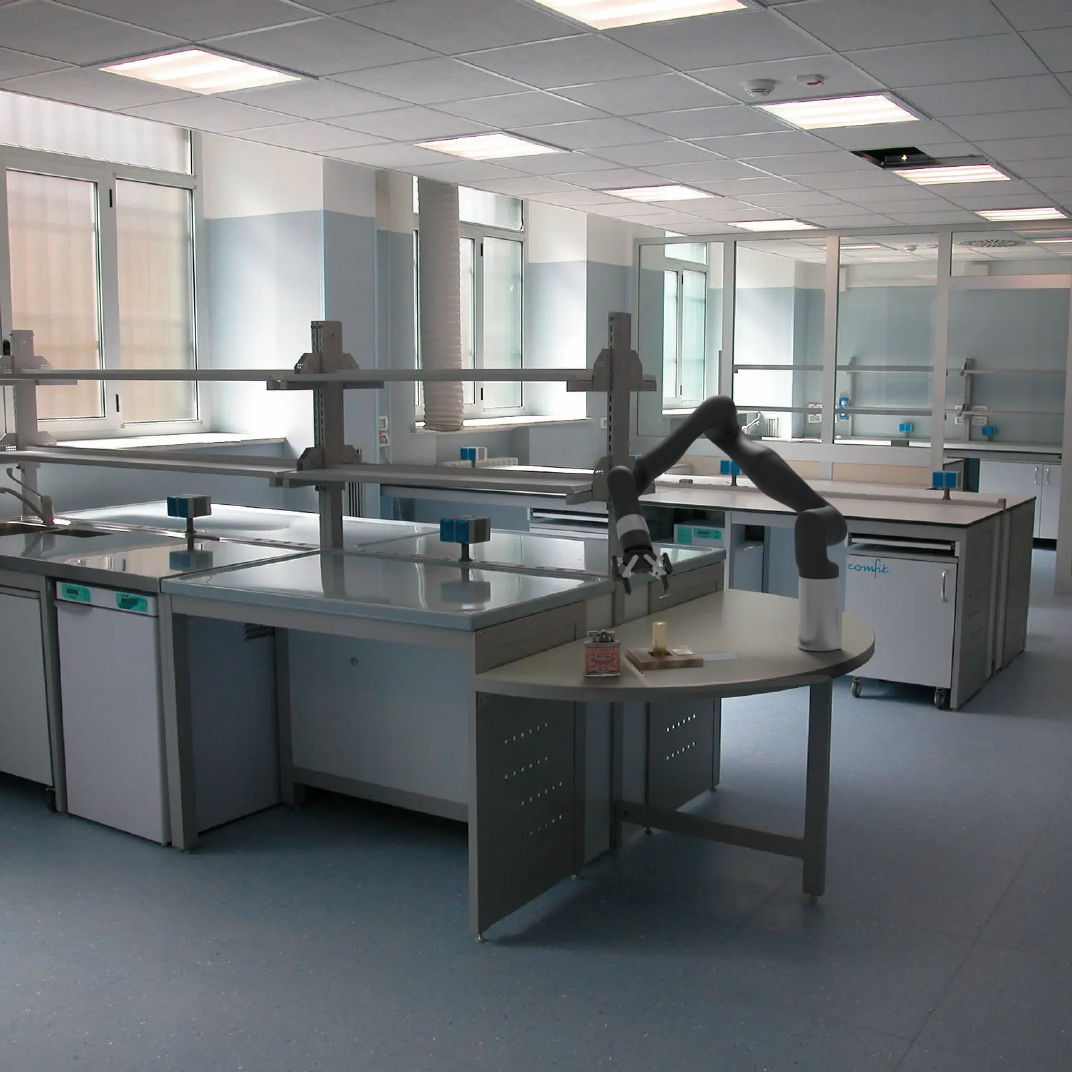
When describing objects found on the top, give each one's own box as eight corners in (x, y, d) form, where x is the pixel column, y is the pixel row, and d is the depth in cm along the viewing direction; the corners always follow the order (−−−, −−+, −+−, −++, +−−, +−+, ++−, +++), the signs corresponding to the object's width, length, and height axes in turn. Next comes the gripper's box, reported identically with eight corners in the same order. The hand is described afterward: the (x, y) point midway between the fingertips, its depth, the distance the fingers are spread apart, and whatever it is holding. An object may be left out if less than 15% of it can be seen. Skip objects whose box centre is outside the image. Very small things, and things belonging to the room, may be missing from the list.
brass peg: (665, 664, 254) (664, 621, 253) (668, 668, 251) (668, 624, 250) (651, 665, 254) (650, 622, 253) (654, 669, 251) (654, 625, 249)
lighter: (620, 672, 249) (619, 628, 247) (621, 676, 245) (621, 631, 244) (583, 673, 248) (583, 629, 247) (585, 677, 245) (584, 632, 244)
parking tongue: (730, 658, 258) (730, 652, 258) (739, 665, 252) (739, 658, 252) (697, 661, 257) (697, 654, 257) (704, 667, 251) (704, 660, 251)
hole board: (686, 657, 260) (686, 644, 260) (703, 671, 247) (703, 657, 247) (627, 661, 258) (627, 648, 257) (641, 675, 245) (641, 661, 245)
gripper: (659, 545, 275) (673, 599, 265) (603, 548, 273) (614, 603, 263) (665, 526, 269) (679, 581, 259) (607, 529, 267) (619, 585, 257)
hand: (647, 592), depth 261 cm, fingers open, 8 cm apart
